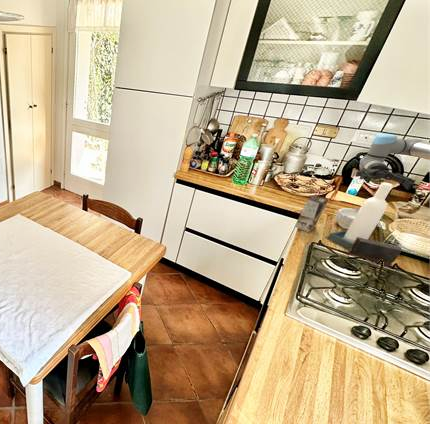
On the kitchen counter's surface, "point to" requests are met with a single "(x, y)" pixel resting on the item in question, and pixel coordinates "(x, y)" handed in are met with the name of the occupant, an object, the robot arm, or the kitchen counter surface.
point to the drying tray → (341, 239)
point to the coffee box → (311, 213)
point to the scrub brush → (375, 251)
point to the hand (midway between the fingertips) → (389, 183)
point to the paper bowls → (346, 217)
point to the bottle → (369, 215)
